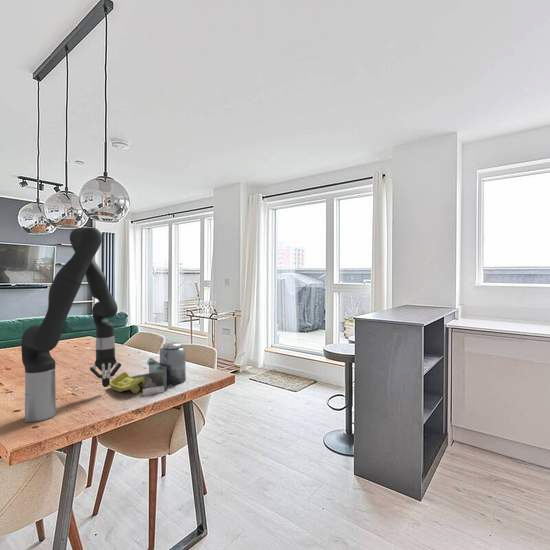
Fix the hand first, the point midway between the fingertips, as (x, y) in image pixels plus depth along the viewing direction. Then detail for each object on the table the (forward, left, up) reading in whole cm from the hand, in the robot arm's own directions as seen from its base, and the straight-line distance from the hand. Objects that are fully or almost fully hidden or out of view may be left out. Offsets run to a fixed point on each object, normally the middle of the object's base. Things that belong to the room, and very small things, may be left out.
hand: (105, 386), depth 148 cm
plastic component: (+9, -1, -4) cm, 10 cm away
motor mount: (+24, 0, -3) cm, 24 cm away
